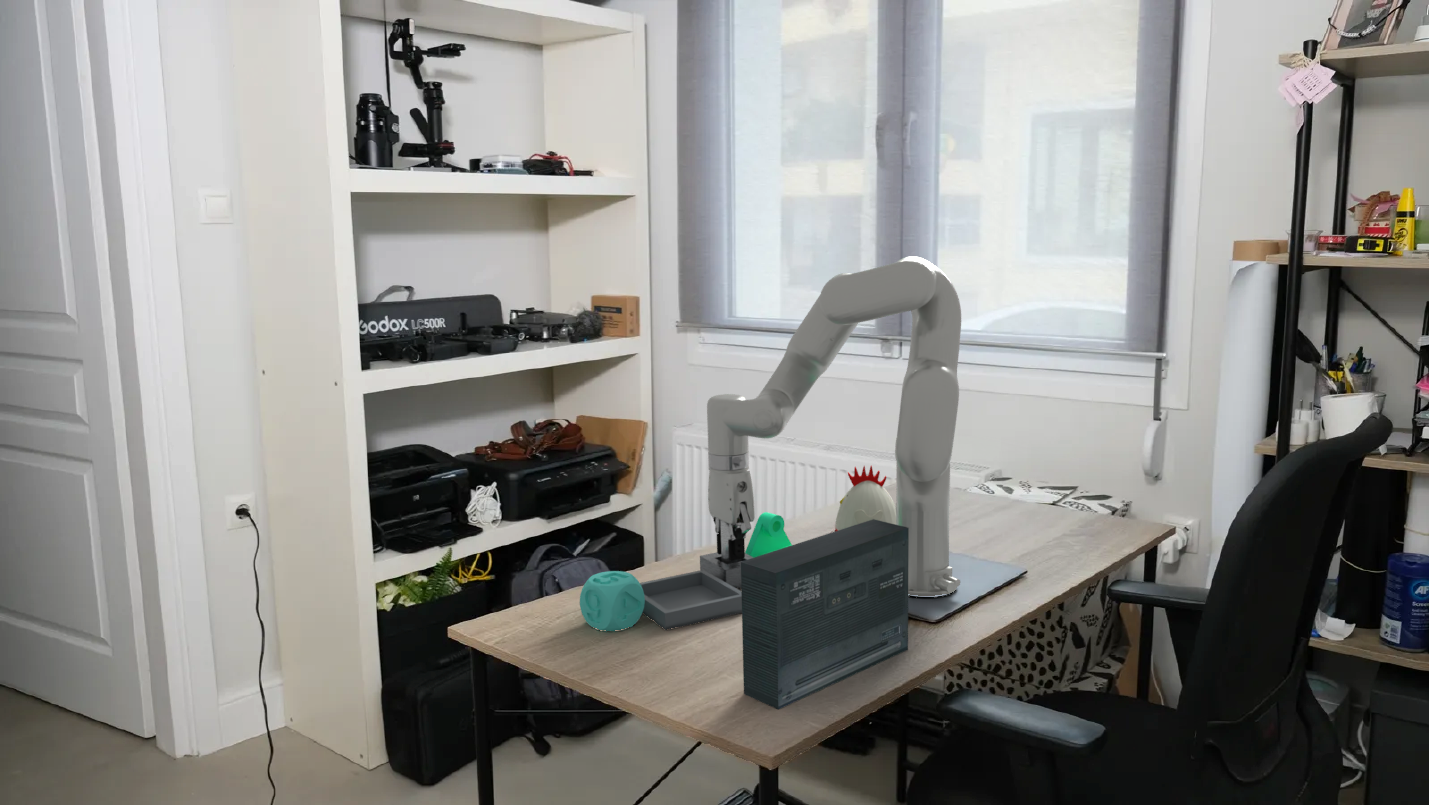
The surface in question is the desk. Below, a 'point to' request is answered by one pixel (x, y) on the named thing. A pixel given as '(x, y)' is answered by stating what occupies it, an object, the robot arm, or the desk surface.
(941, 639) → the desk surface
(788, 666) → the cassette player
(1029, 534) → the desk surface
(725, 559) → the pin
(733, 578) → the block
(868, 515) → the kitchen timer
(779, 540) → the green mounting bracket
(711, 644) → the desk surface
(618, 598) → the decorative dice
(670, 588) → the tray
